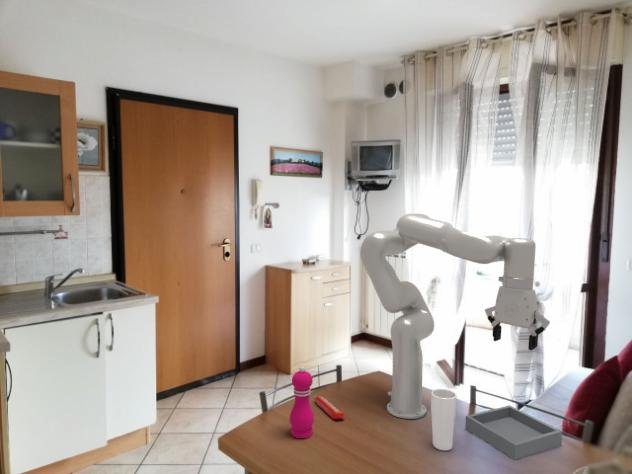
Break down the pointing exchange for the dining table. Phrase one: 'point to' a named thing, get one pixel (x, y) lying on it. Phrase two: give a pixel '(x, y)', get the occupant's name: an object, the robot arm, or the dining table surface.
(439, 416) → the drinking glass
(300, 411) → the pepper mill
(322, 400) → the candy bar
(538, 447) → the tray
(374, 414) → the dining table surface
